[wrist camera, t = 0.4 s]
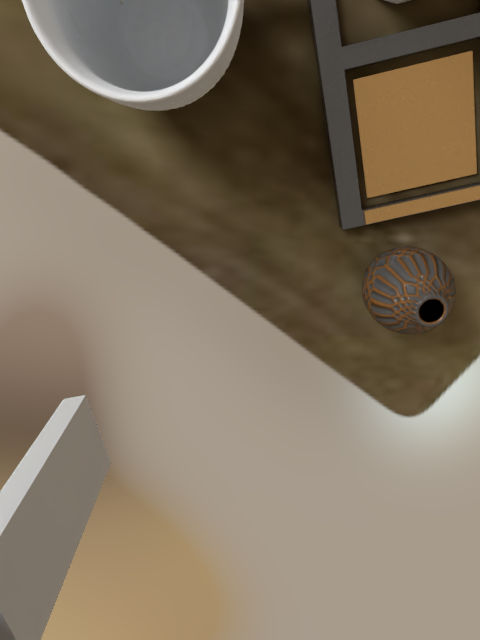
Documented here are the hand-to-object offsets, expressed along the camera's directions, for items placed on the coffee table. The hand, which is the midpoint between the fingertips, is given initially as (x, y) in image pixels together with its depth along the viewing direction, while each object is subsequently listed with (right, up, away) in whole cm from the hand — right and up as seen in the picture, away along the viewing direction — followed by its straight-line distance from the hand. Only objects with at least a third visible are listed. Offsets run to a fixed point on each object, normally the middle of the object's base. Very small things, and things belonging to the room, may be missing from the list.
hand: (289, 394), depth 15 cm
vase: (+12, +6, +26) cm, 29 cm away
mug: (-6, +24, +19) cm, 31 cm away
